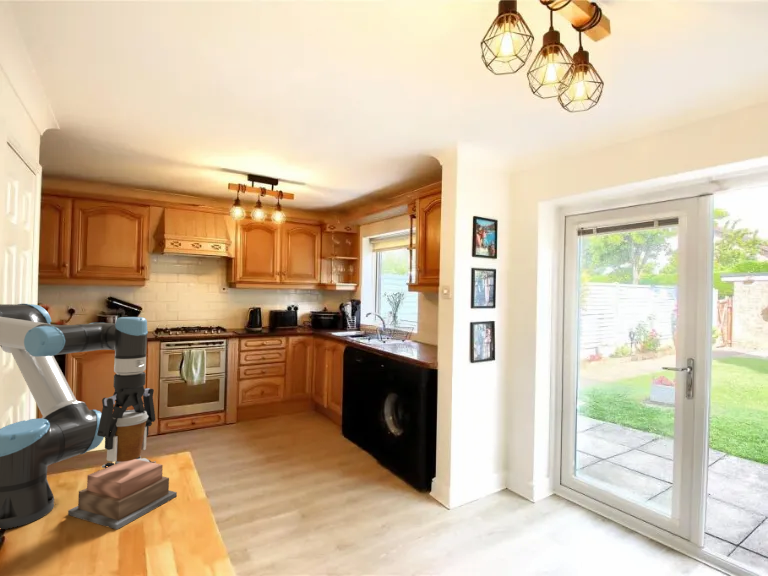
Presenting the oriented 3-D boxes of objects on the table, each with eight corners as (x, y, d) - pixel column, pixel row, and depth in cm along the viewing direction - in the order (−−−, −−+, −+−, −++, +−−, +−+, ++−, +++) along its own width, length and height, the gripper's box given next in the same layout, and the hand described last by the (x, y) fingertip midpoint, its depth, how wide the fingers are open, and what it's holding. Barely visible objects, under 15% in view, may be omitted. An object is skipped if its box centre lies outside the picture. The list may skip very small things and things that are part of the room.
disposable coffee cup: (139, 463, 108) (141, 418, 108) (99, 465, 106) (101, 419, 106) (151, 449, 117) (153, 408, 117) (115, 452, 115) (116, 409, 115)
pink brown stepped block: (68, 514, 106) (69, 477, 106) (131, 485, 123) (132, 453, 123) (116, 529, 100) (118, 490, 100) (176, 496, 116) (177, 462, 117)
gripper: (102, 380, 101) (98, 471, 100) (171, 367, 121) (168, 444, 120) (81, 378, 103) (78, 467, 103) (152, 365, 123) (150, 440, 122)
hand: (127, 454), depth 111 cm, fingers closed on disposable coffee cup, 8 cm apart
